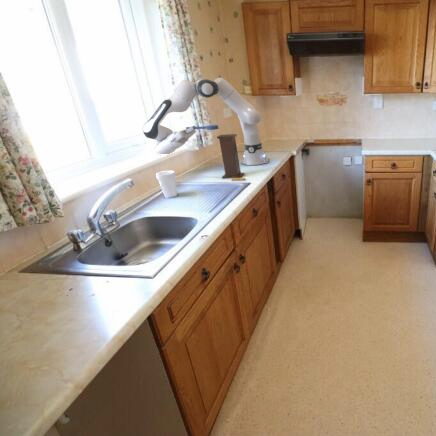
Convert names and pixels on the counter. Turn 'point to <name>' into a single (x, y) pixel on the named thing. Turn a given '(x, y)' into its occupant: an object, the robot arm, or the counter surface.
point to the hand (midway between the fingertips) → (194, 127)
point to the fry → (237, 179)
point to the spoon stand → (230, 156)
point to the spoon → (206, 127)
